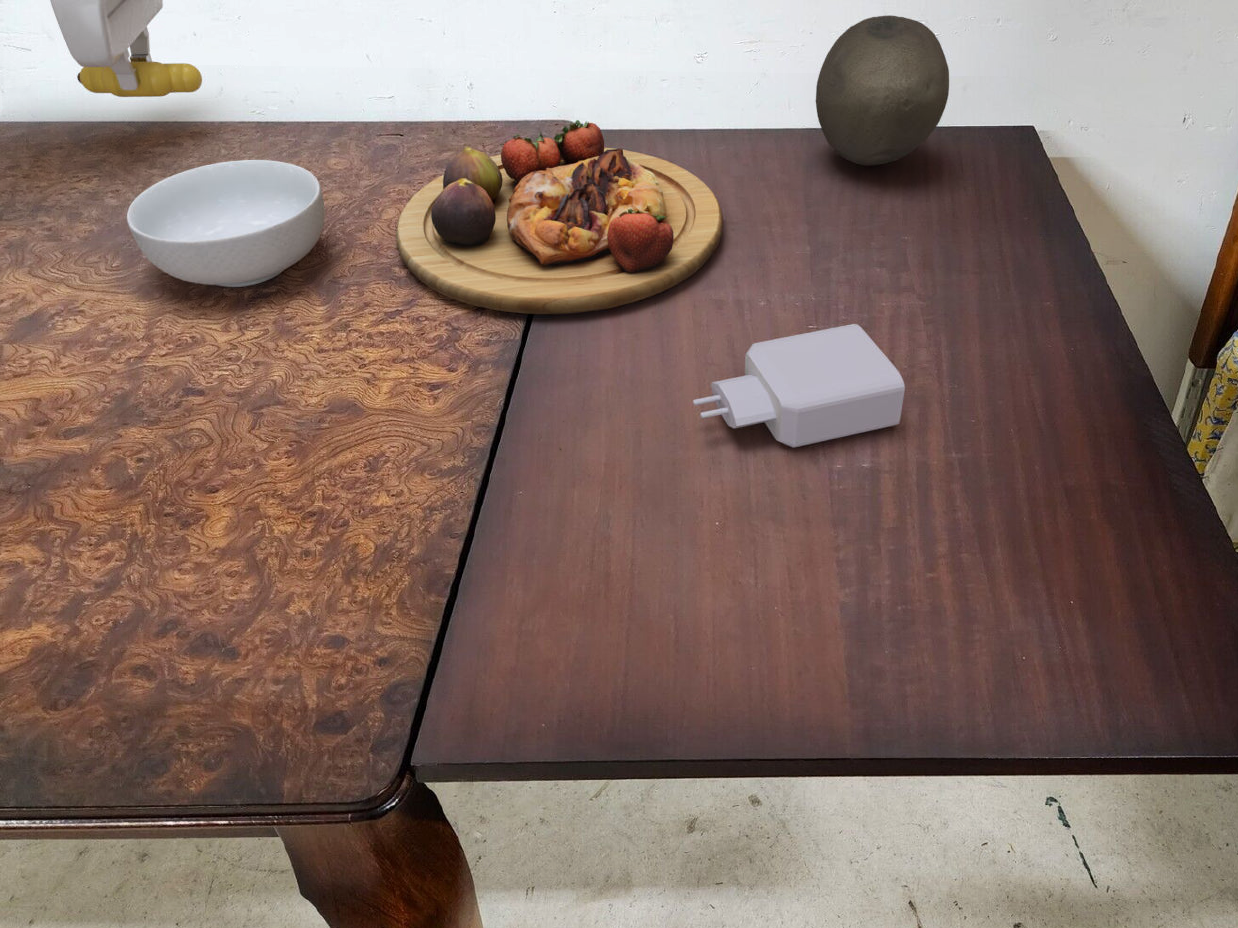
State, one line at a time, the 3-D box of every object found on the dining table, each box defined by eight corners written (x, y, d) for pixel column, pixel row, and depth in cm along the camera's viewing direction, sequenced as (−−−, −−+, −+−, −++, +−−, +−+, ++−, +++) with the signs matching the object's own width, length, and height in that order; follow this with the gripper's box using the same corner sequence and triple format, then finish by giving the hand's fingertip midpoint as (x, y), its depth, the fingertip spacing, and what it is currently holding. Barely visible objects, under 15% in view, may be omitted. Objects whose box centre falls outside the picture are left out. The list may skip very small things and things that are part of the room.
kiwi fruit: (785, 171, 118) (795, 27, 108) (845, 127, 127) (859, -11, 116) (905, 204, 112) (927, 55, 102) (958, 155, 121) (983, 13, 111)
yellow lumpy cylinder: (73, 102, 119) (62, 68, 117) (86, 89, 123) (76, 55, 120) (198, 100, 120) (189, 67, 118) (208, 88, 123) (200, 55, 121)
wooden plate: (781, 273, 102) (787, 190, 96) (453, 356, 92) (438, 269, 86) (643, 144, 123) (641, 70, 118) (364, 200, 113) (347, 122, 108)
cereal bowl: (317, 211, 111) (301, 144, 107) (354, 287, 100) (337, 216, 95) (142, 246, 106) (117, 177, 101) (161, 330, 95) (133, 257, 90)
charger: (677, 401, 87) (847, 366, 91) (717, 471, 81) (898, 430, 84) (677, 351, 84) (853, 317, 87) (718, 420, 77) (907, 380, 81)
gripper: (95, -85, 118) (136, 47, 127) (26, -29, 103) (78, 116, 112) (155, -85, 119) (191, 46, 128) (95, -29, 103) (141, 115, 113)
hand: (138, 79), depth 120 cm, fingers closed on yellow lumpy cylinder, 3 cm apart
